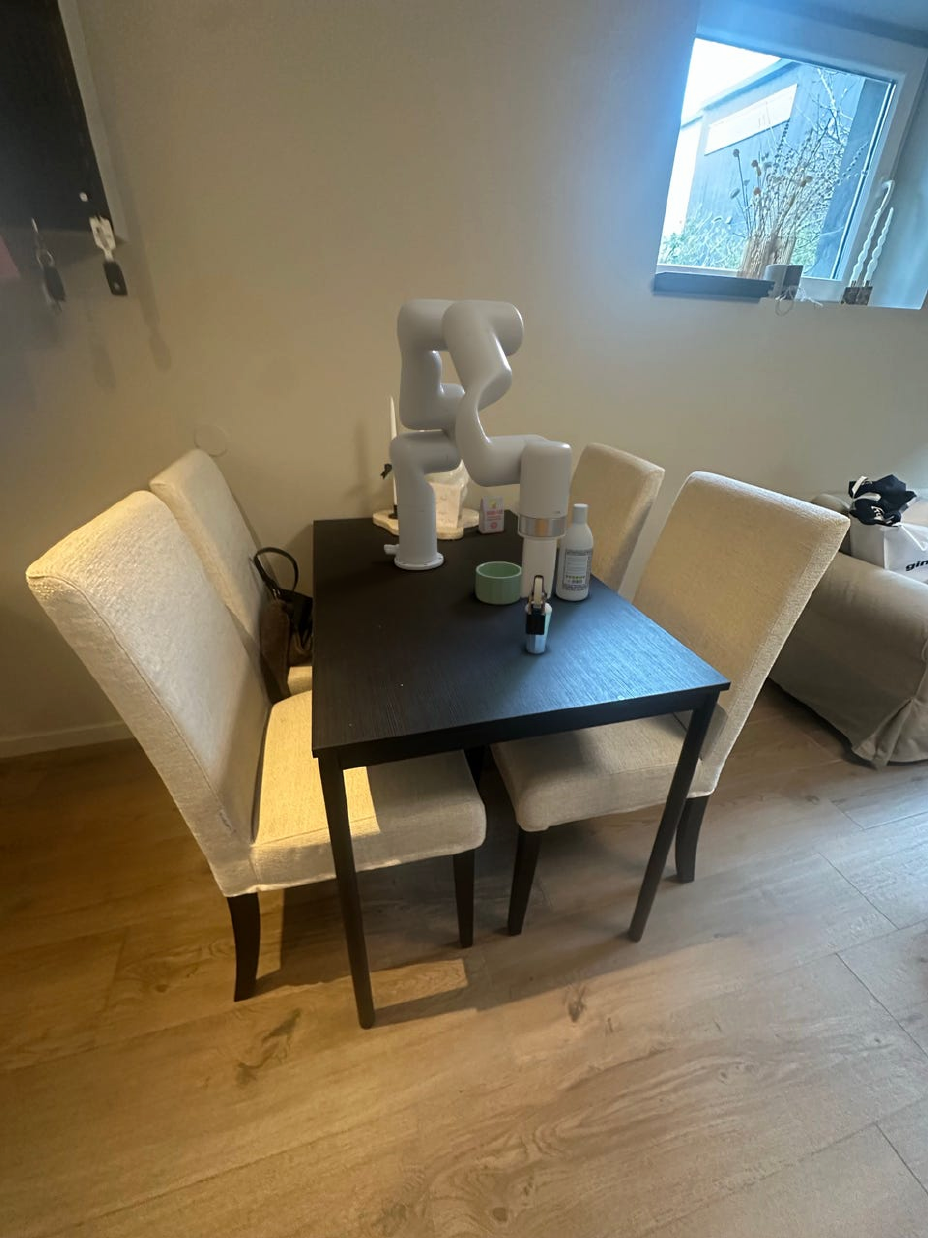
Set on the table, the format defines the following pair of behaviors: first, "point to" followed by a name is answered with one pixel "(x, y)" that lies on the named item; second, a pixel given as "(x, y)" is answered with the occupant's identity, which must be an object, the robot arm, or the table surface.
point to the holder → (498, 582)
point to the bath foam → (575, 557)
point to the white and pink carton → (491, 515)
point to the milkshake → (538, 641)
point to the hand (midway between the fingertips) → (534, 625)
